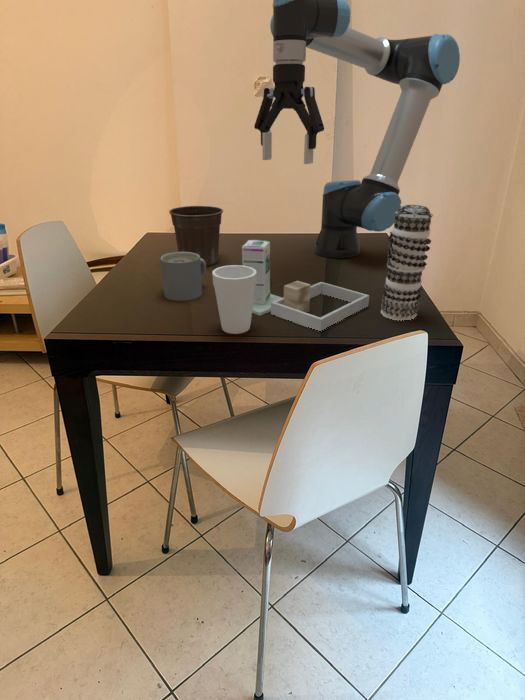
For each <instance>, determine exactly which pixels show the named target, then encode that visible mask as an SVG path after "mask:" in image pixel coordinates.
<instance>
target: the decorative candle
mask: <svg viewBox="0 0 525 700" xmlns="http://www.w3.org/2000/svg"><path fill="white" fill-rule="evenodd" d="M395 214H396V215H395V223H394V224H393V225H392V230H391V231H390V232H389V233H390V234H389V236H388V242H390V243H389V244H388V246H387V248H388V251H387V252H386V254H387V261H386V266H387V268H388V269H387V275H386V277H385V284H383V288H384V289H383V291H382V294H383V296H382V298H381V302H382V303H381V304H380V308H381V309H380V315H381V314H382V315H381V316H383V317H384V318H387V319H388V318H389V320H391V319H392V320H393V321H396V320H397V322H405V321H404V320H410V321H412V320H411V319H413V320H415V319H416V318H417V317H416V316H418V313H417V312H418V311H419V308H418V307H419V306H420V302H419V301H420V298H421V295H420V294H421V292H422V276H423V271H424V270H425V269H426V266H427V265H428V264H427V262H426V261H425V260H427V259H428V255H427V254H426V252H428V251H430V250H431V247H430V246H428V245H430V244H431V243H432V240H431V239H430V238H429V237H430V235H431V234H430V233H431V227H430V226H431V224H432V218H433V217H434V214H433V213H431V211H430V209H429V207H427V206H426V205H425V206H424V205H420V204H406V205H401V208H400V209H399V210H398V211H397V212H395ZM415 317H416V318H415ZM414 318H415V319H414ZM399 320H400V321H399ZM402 320H403V321H402Z"/></svg>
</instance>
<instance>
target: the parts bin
mask: <svg viewBox="0 0 525 700" xmlns="http://www.w3.org/2000/svg"><path fill="white" fill-rule="evenodd" d="M320 295H323V296H326V295H327V296H326V297H330V296H331V298H333V297H334V298H333V299H336V298H338V299H337V300H340V299H341V300H340V301H343V300H344V301H343V302H346V301H348V302H347V304H345V305H343V306H340V307H339V308H337V309H335V310H333V311H330V312H328V313H327V314H325V315H322V316H321V317H320V316H316V315H314V314H311V313H309V312H308V313H305V312H302V311H300V310H297V309H294V308H291V307H288V306H285V305H284V296H283V297H282V298H281V299H278V300H276V301H273V302H271V311H270V315H272V316H274V315H275V317H277V318H280V319H283V320H286V321H288V320H289V322H291V321H292V322H291V323H295V324H296V325H299V326H303V327H305V328H308V327H309V328H308V329H310V328H312V329H311V330H313V329H315V330H314V331H316V330H318V331H317V332H319V331H321V332H323V331H325V330H327V329H328V328H327V327H329V326H331V325H333V324H335V323H336V324H338V323H340V322H342V321H344V320H345V319H344V318H346V317H348V316H350V315H352V314H353V315H355V314H357V313H359V312H361V311H363V310H364V308H365V309H366V307H367V308H368V307H369V303H370V302H369V301H370V295H369V294H366V293H362V292H359V291H356V290H351V289H348V288H346V287H345V288H344V287H341V286H337V285H333V284H331V283H326V282H323V281H320V282H317V283H315V284H311V288H310V300H311V299H312V298H315V297H318V296H320ZM350 302H351V303H350ZM362 309H363V310H362ZM360 310H361V311H360ZM358 311H359V312H358ZM356 312H357V313H356ZM354 313H355V314H354ZM353 315H352V316H353ZM350 317H351V316H350ZM348 318H349V317H348ZM343 319H344V320H343ZM346 319H347V318H346ZM341 320H342V321H341ZM339 321H340V322H339ZM337 322H338V323H337ZM336 324H335V325H336ZM333 326H334V325H333ZM331 327H332V326H331ZM326 328H327V329H326ZM329 328H330V327H329ZM324 329H325V330H324ZM322 330H323V331H322Z"/></svg>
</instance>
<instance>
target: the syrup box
mask: <svg viewBox="0 0 525 700" xmlns="http://www.w3.org/2000/svg"><path fill="white" fill-rule="evenodd" d="M241 258H242V259H241V261H242V262H241V263H242V266H248V267H252V268H253V269H255V270H256V272H257V284H256V286H255V293H254V301H253V304H266V302H267V301H268V299H269V298H270V294H271V241H269V240H263V239H262V240H261V239H248V240H247V241H246V242H244V244H243V245H242V246H241Z"/></svg>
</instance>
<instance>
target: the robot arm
mask: <svg viewBox="0 0 525 700" xmlns="http://www.w3.org/2000/svg"><path fill="white" fill-rule="evenodd" d="M272 9H273V10H272V15H271V19H270V23H269V24H270V25H269V26H270V33H271V35H272V37H273V39H272V41H273V44H272V49H273V50H272V59H273V62H274V63H275V64H273V67H272V82H273V84H274V88H273V87H265V88H264V89H263V96H262V97H263V98H262V101H261V103H260V104H261V105H260V107H259V111H258V114H257V116H256V120H255V123H254V129H255V130H258V131H259V132H260V145H261V147H262V161H270V160H272V157H273V156H272V151H273V148H272V145H273V144H272V142H273V141H272V139H273V136H272V135H273V134H272V131H271V128H272V127H273V125H274V123H275V121H276V119H277V118H278V116H279V115H280V113H281V111H282V110H285V109H288V110H290V109H291V110H292V109H293V110H294V112H296V115H297V116H298V118H299V119H300V121H301V123H302V125H303V126H304V129H305V130H306V134H304V145H303V146H304V149H303V165H311V164H313V163H314V151H315V150H316V148H317V135H318V133H321V132H324V130H325V126H324V123H323V119H322V115H321V113H320V109H319V107H318V103H317V100H316V91H315V89H316V88H315V87H314V86H305V87H304V83H305V82H306V81H305V79H306V66H305V64H304V63H305V61H306V58H307V57H306V56H307V55H306V53H307V49H310V50H313V51H315V52H318V53H322V54H323V55H326V56H329V57H332V58H335V59H338V60H341V61H343V62H346V63H349V64H351V65H353V66H354V65H355V66H357V67H359V68H363V69H364V70H365V71H366V73H367V74H368V75H370V76H373V77H376V78H378V79H381V80H383V81H386V82H388V83H392V84H395V85H399V87H400V90H401V92H400V95H399V97H398V101H397V103H396V106H395V108H394V111H393V113H392V116H391V118H390V121H389V124H388V126H387V129H386V131H385V134H384V137H383V139H382V142H381V145H380V147H379V150H378V152H377V155H376V157H375V160H374V162H373V166H372V169H371V171H370V174H368V175H366V176H363V178H362V180H359V179H355V180H352V179H351V180H341V181H340V180H338V181H330V182H326V183H325V184H324V188H323V194H322V204H321V206H322V207H321V208H322V209H321V226H320V231H319V234H318V236H317V239H316V242H315V243H314V253H315V254H316V255H318V256H321V257H325V258H332V259H349V258H355V257H358V255H360V252H361V249H360V248H361V245H360V240H359V236H358V230H357V229H358V228H362V229H365V230H366V231H370V232H372V231H373V232H383V231H384V232H385V231H386V230H387V229H389V228H392V227H393V226H394V223H395V215H396V214H395V212H397V211H398V210H399V209H400V208H401V207H402V199H401V197H400V196H399V194H400V191H401V188H400V187H399V185H398V184H399V180H400V178H401V175H402V173H403V170H404V167H405V166H406V163H407V160H408V158H409V155H410V153H411V150H412V148H413V145H414V143H415V140H416V137H417V135H418V133H419V130H420V127H421V125H422V123H423V121H424V118H425V115H426V112H427V110H428V107H429V105H430V103H431V101H432V100H433V99H435V98H437V97H438V96H439V94H440V92H441V90H442V88H443V86H444V85H447V84H449V83H450V82H451V81H453V80H454V79H455V77H456V76H457V74H458V71H459V67H460V61H461V60H460V59H461V58H460V57H461V56H460V54H461V53H460V47H459V45H458V42H457V41H456V39H455V38H454V37H453V36H452V35H451V34H447V33H445V34H440V33H439V34H438V33H435V34H433V35H428V36H419V37H411V38H403V39H388V38H387V37H383V36H379V37H378V38H374V37H372V36H369V35H367V34H365V33H363V32H360V31H358V30H355V29H353V28H351V27H349V25H350V22H351V7H350V4H348V2H347V1H346V0H273V2H272ZM303 98H304V100H303ZM304 101H305V102H304Z"/></svg>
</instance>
